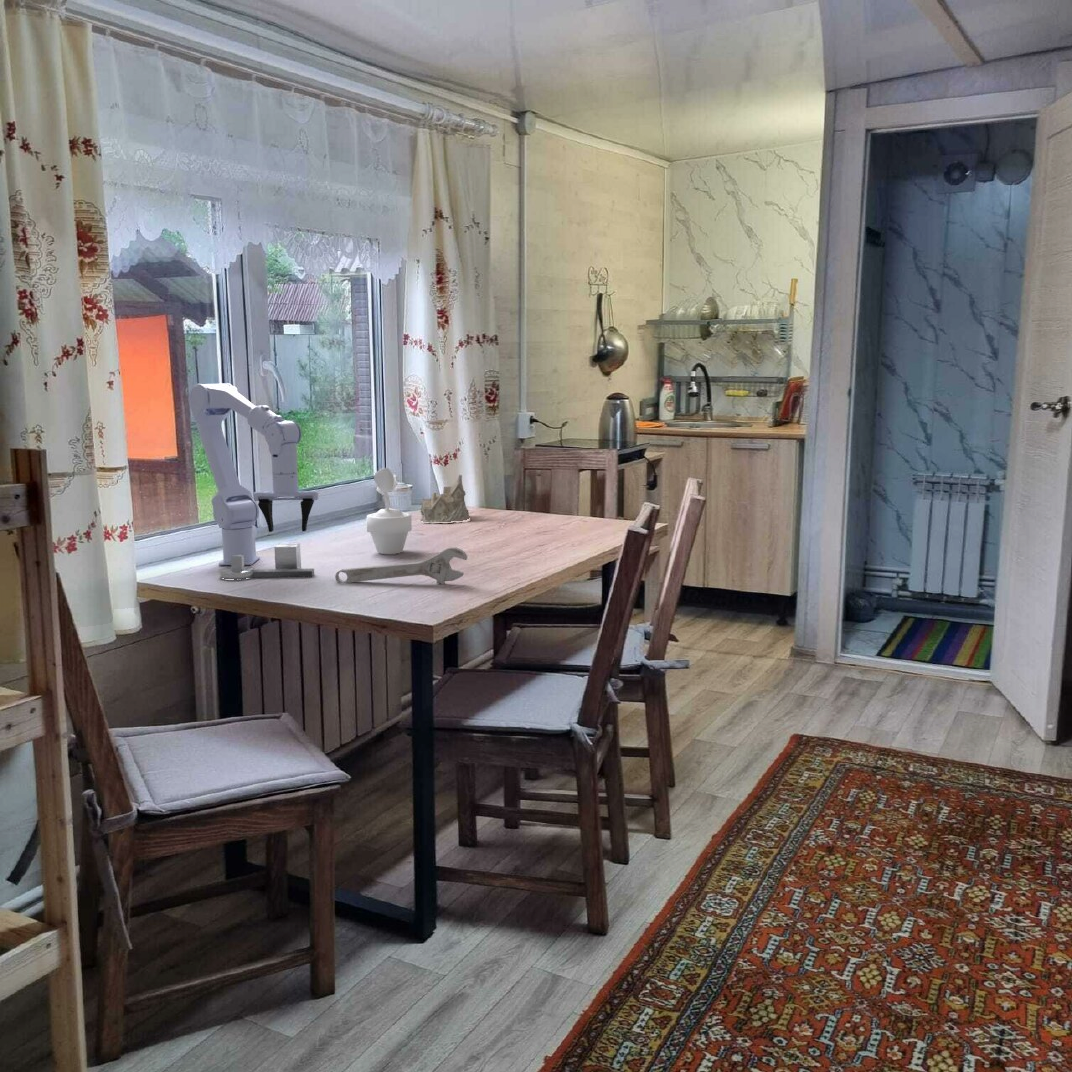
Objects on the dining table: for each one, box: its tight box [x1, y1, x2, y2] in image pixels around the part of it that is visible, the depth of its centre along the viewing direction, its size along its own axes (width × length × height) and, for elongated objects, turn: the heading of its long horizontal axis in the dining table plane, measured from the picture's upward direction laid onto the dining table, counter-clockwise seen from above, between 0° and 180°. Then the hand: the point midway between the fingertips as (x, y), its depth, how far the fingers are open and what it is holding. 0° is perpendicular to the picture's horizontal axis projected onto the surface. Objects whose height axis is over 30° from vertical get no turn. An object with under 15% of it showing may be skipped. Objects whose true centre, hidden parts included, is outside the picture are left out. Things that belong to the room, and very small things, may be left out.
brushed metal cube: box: [274, 542, 302, 569], centre depth 239 cm, size 5×5×6 cm
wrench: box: [334, 546, 468, 585], centre depth 224 cm, size 8×2×30 cm
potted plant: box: [366, 459, 413, 555], centre depth 260 cm, size 13×12×25 cm
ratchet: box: [219, 555, 315, 581], centre depth 232 cm, size 8×21×5 cm, turn 93°
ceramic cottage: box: [420, 474, 471, 522], centre depth 314 cm, size 16×16×15 cm
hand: (287, 530), depth 237 cm, fingers open, 7 cm apart
